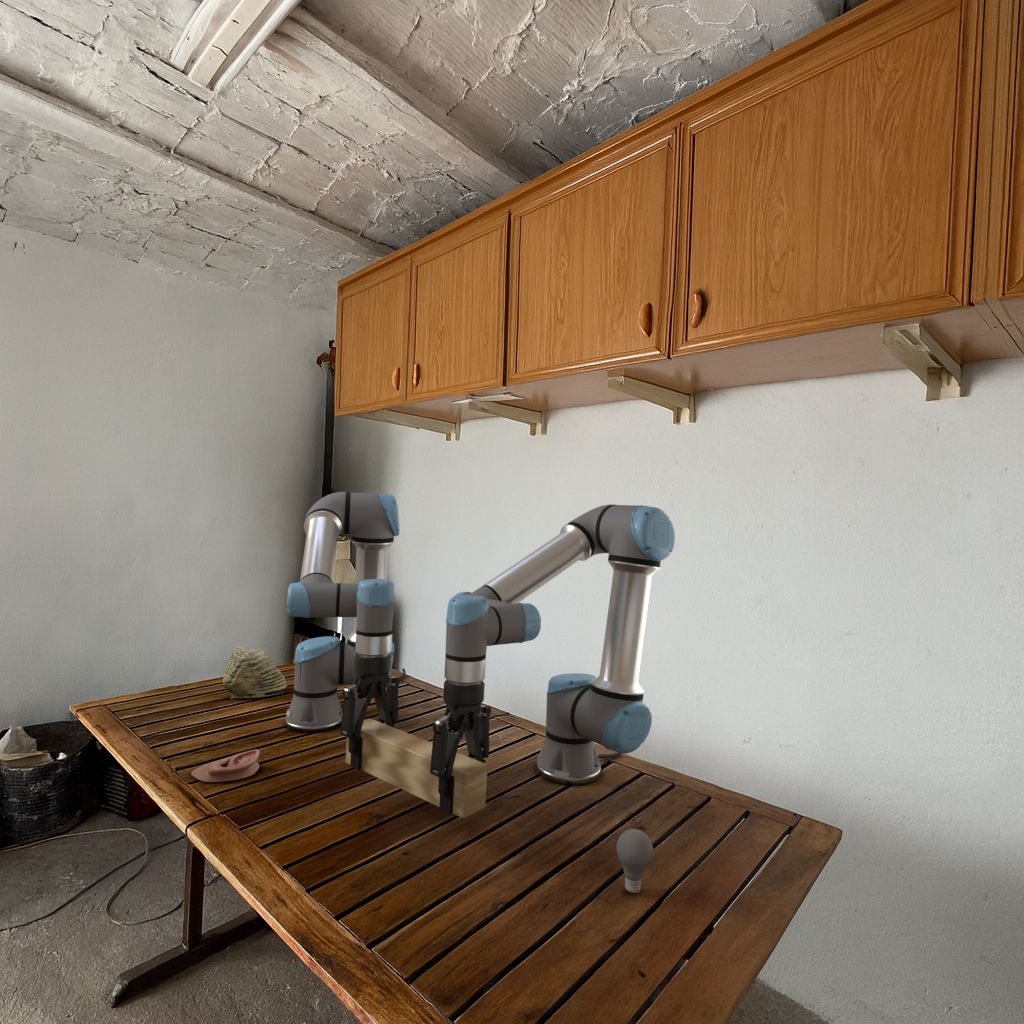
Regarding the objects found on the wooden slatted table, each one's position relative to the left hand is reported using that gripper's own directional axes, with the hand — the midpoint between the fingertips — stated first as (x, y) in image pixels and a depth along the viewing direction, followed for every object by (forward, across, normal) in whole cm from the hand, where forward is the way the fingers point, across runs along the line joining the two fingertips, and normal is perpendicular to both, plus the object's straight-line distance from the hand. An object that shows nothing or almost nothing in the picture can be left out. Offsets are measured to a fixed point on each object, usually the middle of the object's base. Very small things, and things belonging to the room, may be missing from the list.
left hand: (368, 762), depth 133 cm
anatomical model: (+8, +14, -33) cm, 36 cm away
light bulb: (+8, -10, +57) cm, 58 cm away
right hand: (0, 0, +26) cm, 26 cm away
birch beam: (0, 0, +13) cm, 13 cm away
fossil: (+7, -19, -80) cm, 82 cm away
